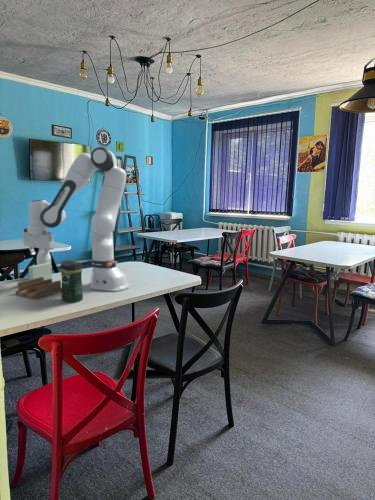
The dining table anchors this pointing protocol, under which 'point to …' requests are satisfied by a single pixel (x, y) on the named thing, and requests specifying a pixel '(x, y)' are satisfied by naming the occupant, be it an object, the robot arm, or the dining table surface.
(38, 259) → the milk bottle
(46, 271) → the tall mint green block
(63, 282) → the coffee jar
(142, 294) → the dining table surface
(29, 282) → the rack
